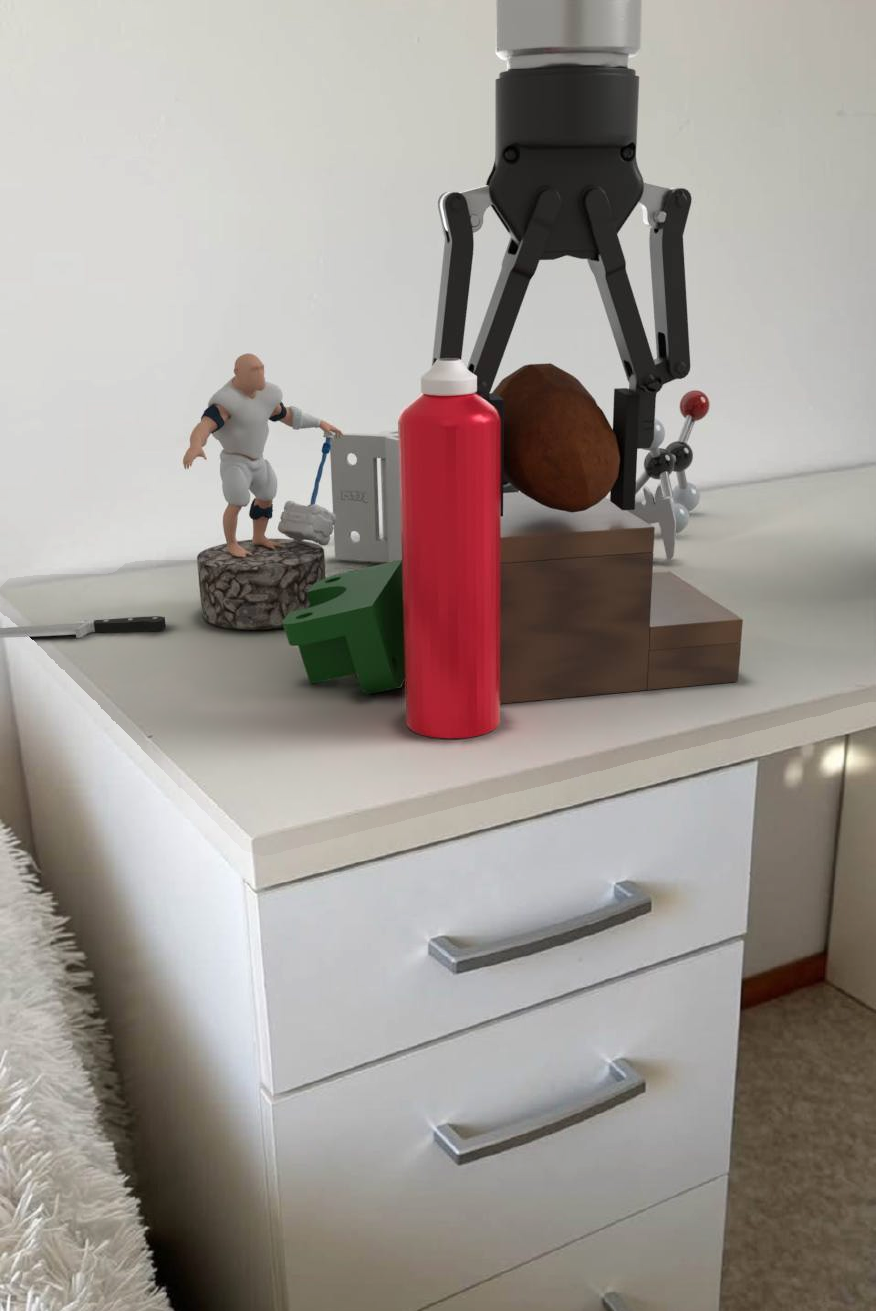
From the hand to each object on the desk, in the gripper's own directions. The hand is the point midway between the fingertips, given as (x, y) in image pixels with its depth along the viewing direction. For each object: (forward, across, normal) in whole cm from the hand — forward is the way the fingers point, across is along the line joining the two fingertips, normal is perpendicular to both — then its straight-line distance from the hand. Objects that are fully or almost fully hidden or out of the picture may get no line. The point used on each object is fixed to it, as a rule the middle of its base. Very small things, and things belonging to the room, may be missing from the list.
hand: (557, 507), depth 84 cm
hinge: (+11, +5, -30) cm, 32 cm away
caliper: (+11, -7, -31) cm, 34 cm away
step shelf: (+11, -3, -3) cm, 12 cm away
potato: (0, 0, -3) cm, 3 cm away
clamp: (+11, +12, -5) cm, 17 cm away
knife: (+10, +32, -16) cm, 37 cm away
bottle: (+11, +7, +6) cm, 14 cm away
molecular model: (+11, -20, -41) cm, 47 cm away
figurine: (+11, +17, -19) cm, 28 cm away
